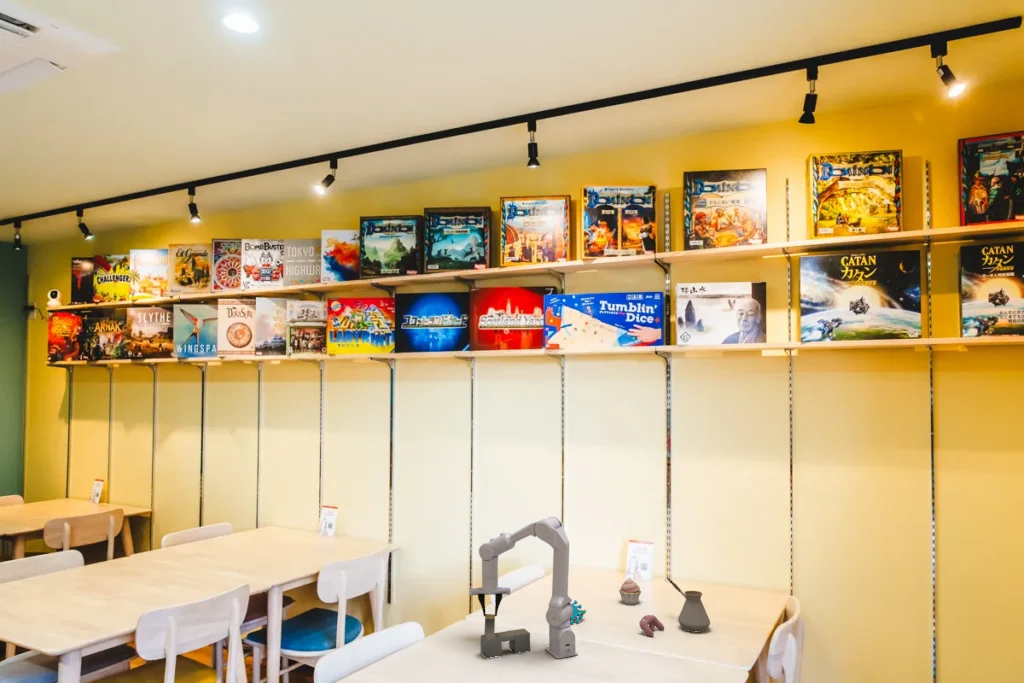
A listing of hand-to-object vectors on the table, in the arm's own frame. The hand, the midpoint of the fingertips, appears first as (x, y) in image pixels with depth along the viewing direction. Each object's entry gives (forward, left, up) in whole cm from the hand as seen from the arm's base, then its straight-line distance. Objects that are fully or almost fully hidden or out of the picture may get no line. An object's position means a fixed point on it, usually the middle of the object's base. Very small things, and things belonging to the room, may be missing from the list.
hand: (490, 615), depth 243 cm
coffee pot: (-17, -72, -8) cm, 74 cm away
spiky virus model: (+4, -35, -8) cm, 37 cm away
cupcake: (+14, -68, -8) cm, 70 cm away
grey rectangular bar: (-2, +1, -5) cm, 6 cm away
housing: (-14, 0, -8) cm, 16 cm away
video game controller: (-19, -56, -8) cm, 59 cm away
